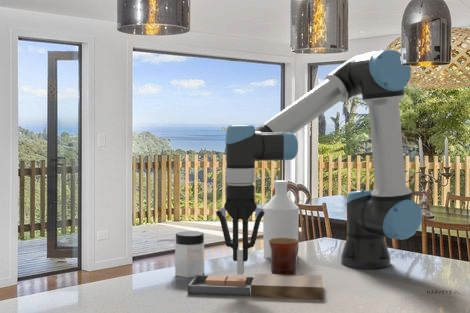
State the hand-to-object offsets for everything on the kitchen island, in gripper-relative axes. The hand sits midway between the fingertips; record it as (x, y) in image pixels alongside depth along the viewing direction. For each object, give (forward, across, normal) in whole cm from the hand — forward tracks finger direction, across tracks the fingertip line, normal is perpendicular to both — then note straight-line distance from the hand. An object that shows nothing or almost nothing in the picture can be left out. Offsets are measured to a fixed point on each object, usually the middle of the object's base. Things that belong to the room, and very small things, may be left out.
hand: (240, 273), depth 158 cm
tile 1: (+1, +6, 0) cm, 7 cm away
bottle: (+5, -8, -43) cm, 44 cm away
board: (+4, -12, 0) cm, 13 cm away
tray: (+4, +5, 0) cm, 7 cm away
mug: (+5, -11, -18) cm, 22 cm away
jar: (+5, +17, -15) cm, 23 cm away
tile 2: (+4, +1, 0) cm, 4 cm away
